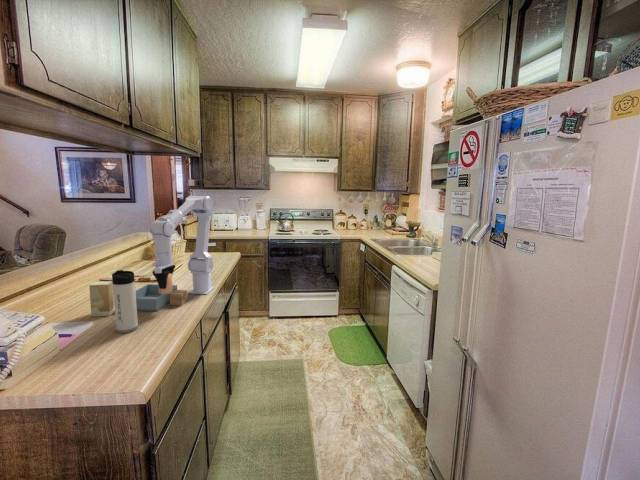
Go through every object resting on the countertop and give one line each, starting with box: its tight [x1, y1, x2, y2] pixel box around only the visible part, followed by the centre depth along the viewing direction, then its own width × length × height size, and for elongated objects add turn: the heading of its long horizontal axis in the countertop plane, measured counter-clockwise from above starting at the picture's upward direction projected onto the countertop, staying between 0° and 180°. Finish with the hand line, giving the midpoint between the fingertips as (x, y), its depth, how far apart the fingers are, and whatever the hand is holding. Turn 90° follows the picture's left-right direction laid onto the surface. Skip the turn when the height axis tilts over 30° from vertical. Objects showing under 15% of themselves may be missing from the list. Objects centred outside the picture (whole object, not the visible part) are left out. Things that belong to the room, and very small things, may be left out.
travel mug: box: [111, 269, 139, 334], centre depth 102 cm, size 6×7×20 cm
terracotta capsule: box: [158, 273, 174, 294], centre depth 118 cm, size 5×5×7 cm
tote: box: [135, 283, 178, 312], centre depth 127 cm, size 17×13×5 cm
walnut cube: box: [169, 289, 189, 307], centre depth 127 cm, size 5×5×5 cm
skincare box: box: [88, 280, 115, 317], centre depth 114 cm, size 6×4×12 cm
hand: (165, 286), depth 119 cm, fingers closed on terracotta capsule, 5 cm apart
